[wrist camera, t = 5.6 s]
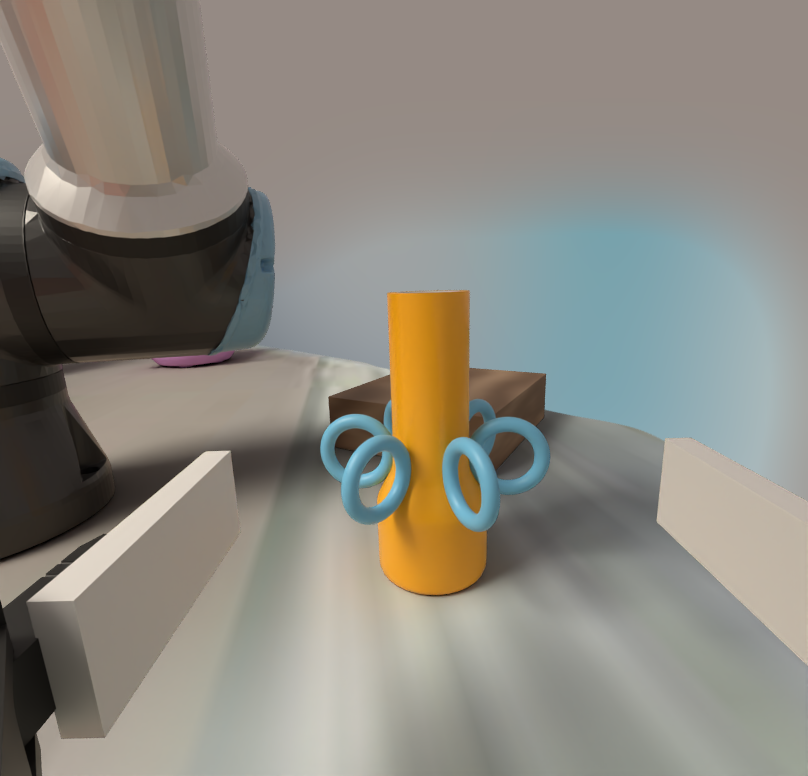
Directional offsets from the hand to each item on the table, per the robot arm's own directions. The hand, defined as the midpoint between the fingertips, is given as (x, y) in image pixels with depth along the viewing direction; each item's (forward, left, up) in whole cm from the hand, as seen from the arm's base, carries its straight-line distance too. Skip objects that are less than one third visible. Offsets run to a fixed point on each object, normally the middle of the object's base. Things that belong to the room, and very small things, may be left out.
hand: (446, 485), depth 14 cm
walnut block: (-14, +30, -9) cm, 34 cm away
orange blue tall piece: (-5, +9, -10) cm, 14 cm away
